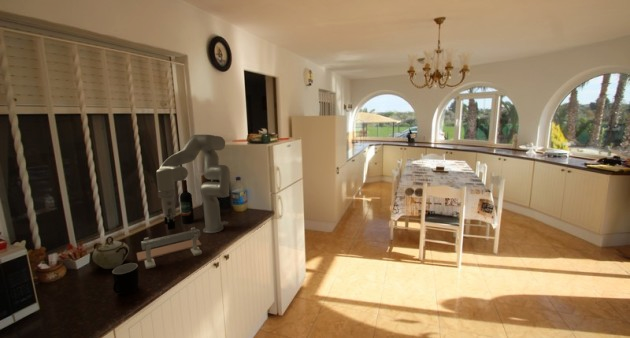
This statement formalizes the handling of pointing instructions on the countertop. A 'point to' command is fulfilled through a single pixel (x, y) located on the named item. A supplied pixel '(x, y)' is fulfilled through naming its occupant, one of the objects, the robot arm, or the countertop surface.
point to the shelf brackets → (150, 262)
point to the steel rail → (170, 239)
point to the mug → (125, 278)
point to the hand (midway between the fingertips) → (169, 226)
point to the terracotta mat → (167, 249)
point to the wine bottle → (186, 205)
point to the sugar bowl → (110, 253)
